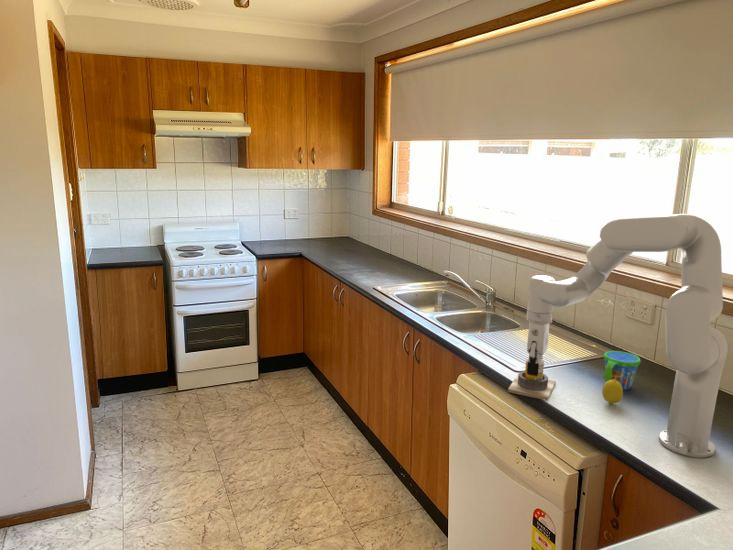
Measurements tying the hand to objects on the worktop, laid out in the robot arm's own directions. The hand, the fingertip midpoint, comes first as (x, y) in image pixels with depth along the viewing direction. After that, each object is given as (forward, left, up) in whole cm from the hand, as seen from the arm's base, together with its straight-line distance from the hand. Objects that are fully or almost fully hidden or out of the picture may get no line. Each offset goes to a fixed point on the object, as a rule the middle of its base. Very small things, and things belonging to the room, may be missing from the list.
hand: (534, 370), depth 174 cm
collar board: (0, 0, -6) cm, 6 cm away
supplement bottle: (0, 0, -4) cm, 4 cm away
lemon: (0, -23, -6) cm, 24 cm away
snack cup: (+16, -24, -6) cm, 29 cm away
